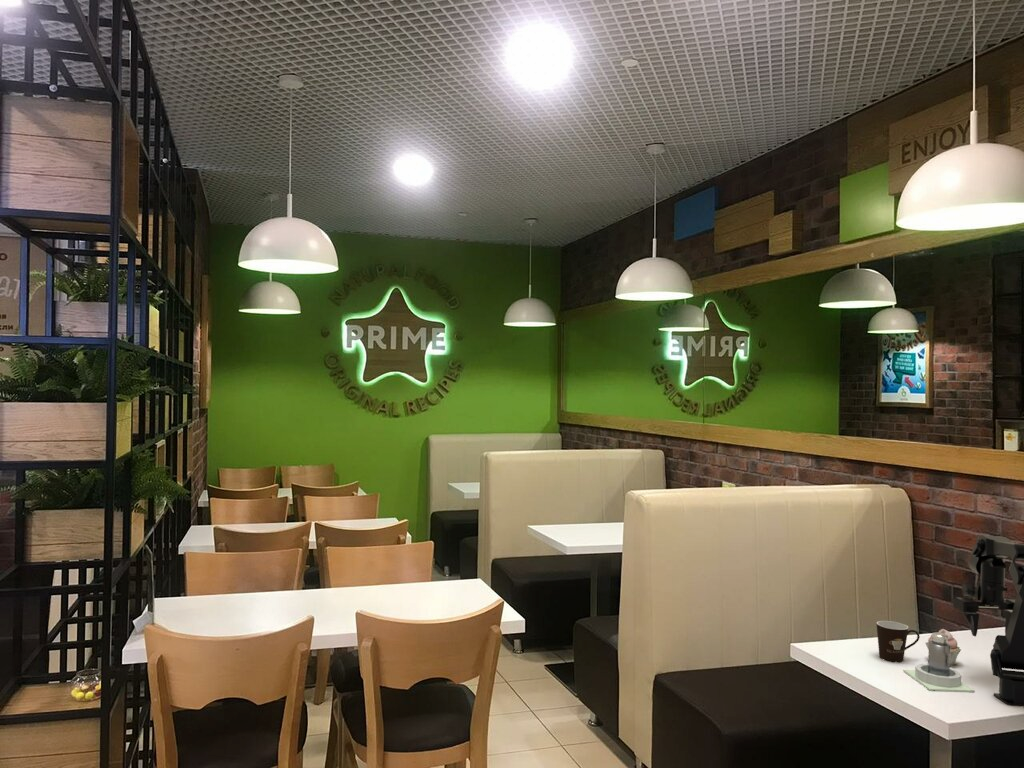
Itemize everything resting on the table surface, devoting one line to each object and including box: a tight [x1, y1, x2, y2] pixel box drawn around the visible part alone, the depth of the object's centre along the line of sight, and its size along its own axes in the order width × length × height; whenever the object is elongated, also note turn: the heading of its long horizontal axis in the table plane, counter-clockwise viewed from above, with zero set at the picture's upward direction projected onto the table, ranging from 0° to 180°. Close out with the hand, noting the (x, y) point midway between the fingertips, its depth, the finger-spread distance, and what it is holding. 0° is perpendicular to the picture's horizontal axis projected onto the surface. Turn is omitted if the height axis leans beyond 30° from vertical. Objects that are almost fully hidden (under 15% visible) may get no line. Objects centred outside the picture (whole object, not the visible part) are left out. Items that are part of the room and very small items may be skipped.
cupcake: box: [925, 628, 962, 667], centre depth 230 cm, size 9×9×10 cm
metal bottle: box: [927, 631, 951, 677], centre depth 214 cm, size 5×5×12 cm
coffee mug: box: [876, 620, 921, 663], centre depth 231 cm, size 12×9×10 cm
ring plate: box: [903, 663, 975, 693], centre depth 214 cm, size 14×12×3 cm
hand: (990, 636), depth 217 cm, fingers open, 9 cm apart
